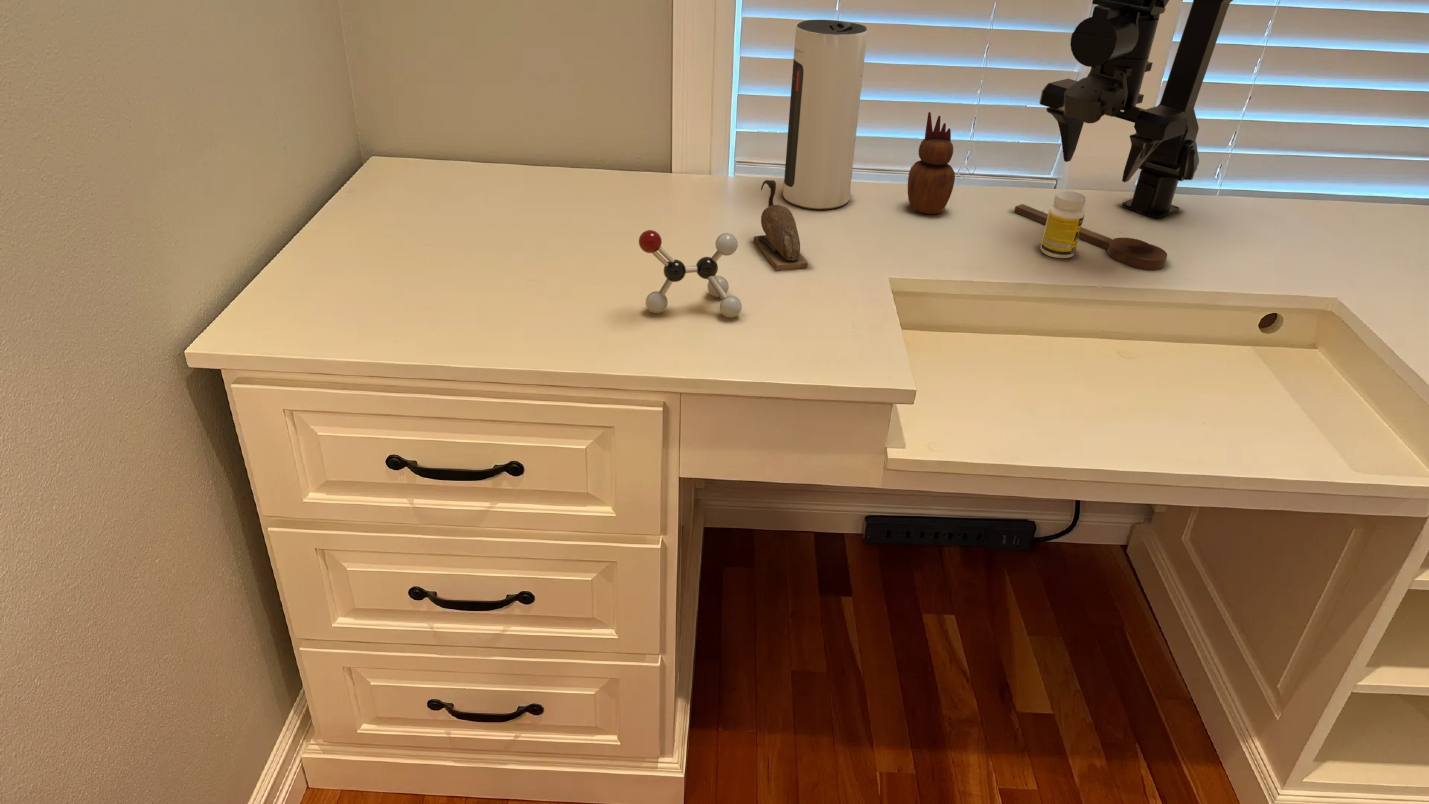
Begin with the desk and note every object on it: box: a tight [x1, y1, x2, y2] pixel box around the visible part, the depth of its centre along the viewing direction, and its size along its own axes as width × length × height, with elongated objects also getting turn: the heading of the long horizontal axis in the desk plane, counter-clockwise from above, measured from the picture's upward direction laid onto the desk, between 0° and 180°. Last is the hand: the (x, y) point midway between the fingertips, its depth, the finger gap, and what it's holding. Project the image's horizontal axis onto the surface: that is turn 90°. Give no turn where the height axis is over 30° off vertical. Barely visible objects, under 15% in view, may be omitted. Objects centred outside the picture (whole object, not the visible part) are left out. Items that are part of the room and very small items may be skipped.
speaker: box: [782, 19, 869, 210], centre depth 147 cm, size 11×10×26 cm
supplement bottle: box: [1039, 190, 1087, 259], centre depth 137 cm, size 5×5×8 cm
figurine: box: [753, 179, 809, 271], centre depth 135 cm, size 14×4×9 cm, turn 17°
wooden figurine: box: [907, 111, 956, 215], centre depth 147 cm, size 7×6×15 cm
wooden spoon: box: [1013, 203, 1168, 271], centre depth 144 cm, size 24×6×2 cm, turn 38°
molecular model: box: [638, 229, 743, 319], centre depth 118 cm, size 8×12×11 cm
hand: (1095, 171), depth 134 cm, fingers open, 9 cm apart
